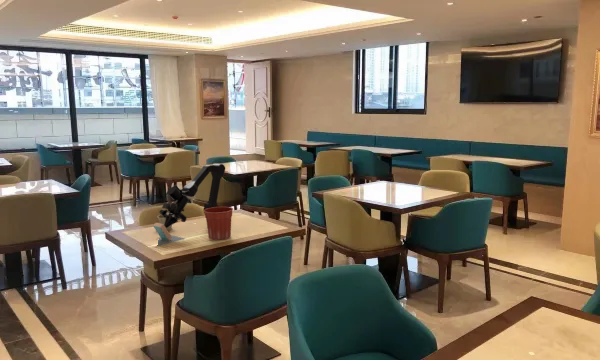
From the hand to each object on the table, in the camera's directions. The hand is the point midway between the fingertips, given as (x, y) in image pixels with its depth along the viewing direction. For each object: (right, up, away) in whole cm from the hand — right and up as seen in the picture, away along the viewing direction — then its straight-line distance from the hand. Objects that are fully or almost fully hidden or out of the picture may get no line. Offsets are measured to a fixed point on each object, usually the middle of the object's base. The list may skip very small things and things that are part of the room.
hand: (164, 228), depth 272 cm
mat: (-1, -8, 0) cm, 8 cm away
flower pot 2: (+30, -6, +5) cm, 31 cm away
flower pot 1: (-6, -4, +27) cm, 27 cm away
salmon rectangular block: (+1, -6, +2) cm, 6 cm away
